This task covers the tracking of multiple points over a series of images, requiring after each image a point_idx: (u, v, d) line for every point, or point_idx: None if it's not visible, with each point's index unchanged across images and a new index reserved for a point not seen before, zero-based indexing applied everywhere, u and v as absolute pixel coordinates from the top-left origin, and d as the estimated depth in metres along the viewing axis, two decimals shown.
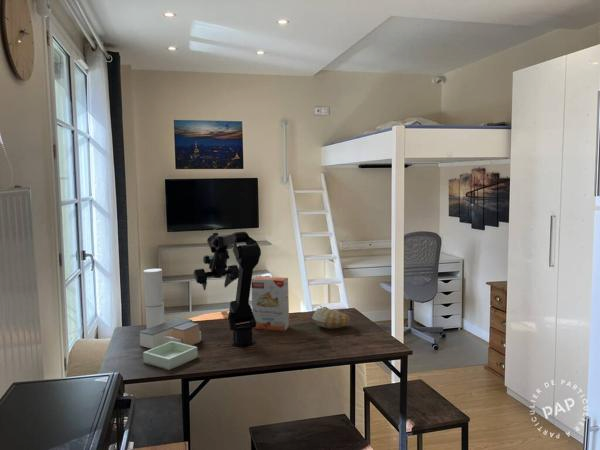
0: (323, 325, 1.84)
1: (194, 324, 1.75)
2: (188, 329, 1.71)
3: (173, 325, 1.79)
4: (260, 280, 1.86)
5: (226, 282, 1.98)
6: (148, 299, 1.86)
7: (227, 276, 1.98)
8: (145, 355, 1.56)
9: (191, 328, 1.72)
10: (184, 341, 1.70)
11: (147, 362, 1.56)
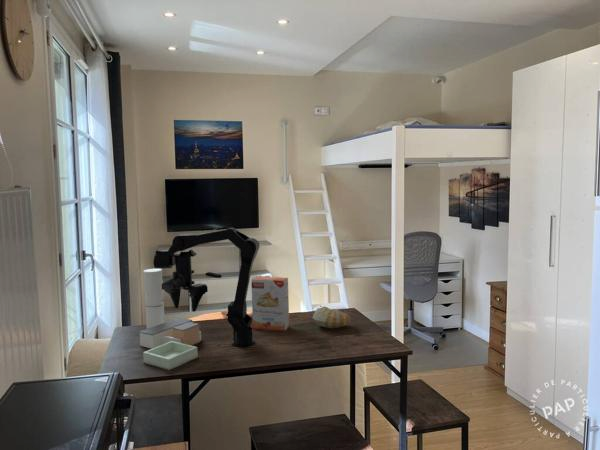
0: (324, 325, 1.85)
1: (194, 324, 1.75)
2: (188, 329, 1.71)
3: (173, 325, 1.79)
4: (260, 280, 1.86)
5: (177, 299, 1.76)
6: (148, 299, 1.86)
7: (174, 293, 1.75)
8: (145, 355, 1.56)
9: (191, 328, 1.72)
10: (184, 341, 1.70)
11: (147, 362, 1.56)
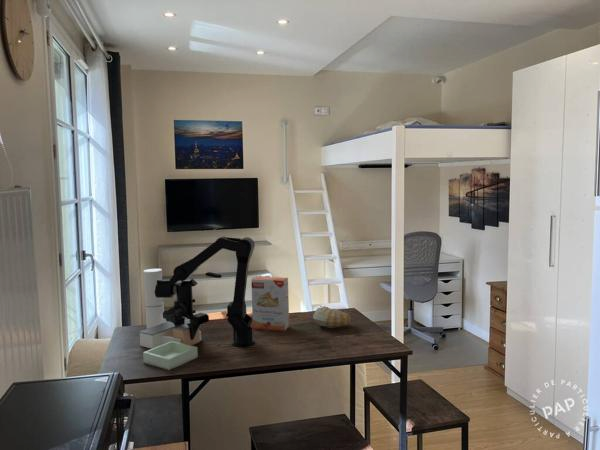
0: (324, 324, 1.85)
1: None
2: (188, 329, 1.71)
3: (173, 325, 1.79)
4: (260, 280, 1.86)
5: None
6: (148, 299, 1.86)
7: (178, 322, 1.75)
8: (145, 355, 1.56)
9: None
10: (184, 340, 1.70)
11: (147, 362, 1.56)
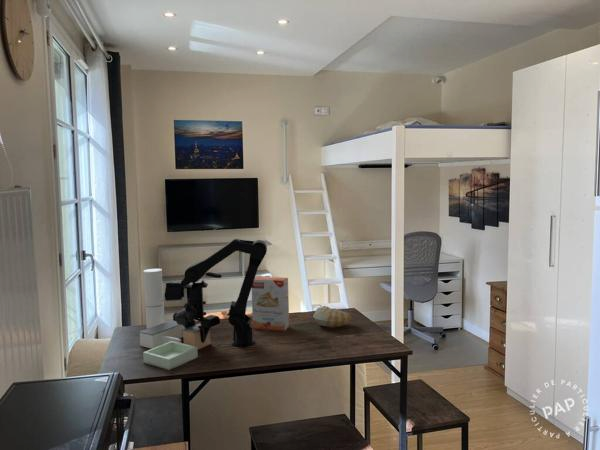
0: (325, 324, 1.86)
1: None
2: (199, 331, 1.68)
3: (173, 325, 1.79)
4: (260, 280, 1.86)
5: None
6: (148, 299, 1.86)
7: (189, 325, 1.72)
8: (145, 355, 1.56)
9: None
10: (195, 343, 1.67)
11: (147, 362, 1.56)
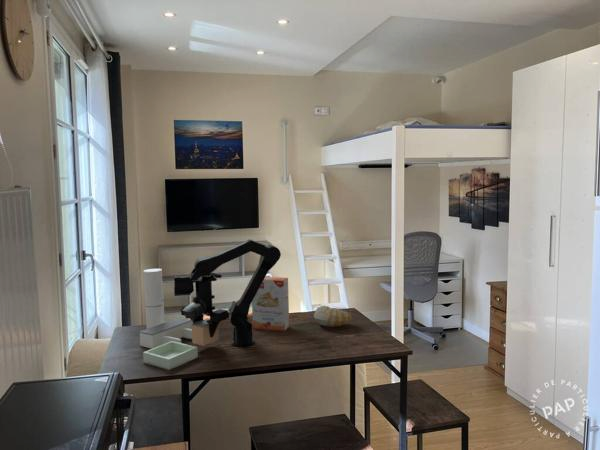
0: (326, 323, 1.86)
1: None
2: (208, 325, 1.65)
3: (173, 325, 1.79)
4: None
5: None
6: (148, 299, 1.86)
7: (197, 319, 1.69)
8: (145, 355, 1.56)
9: None
10: (204, 337, 1.64)
11: (147, 362, 1.56)
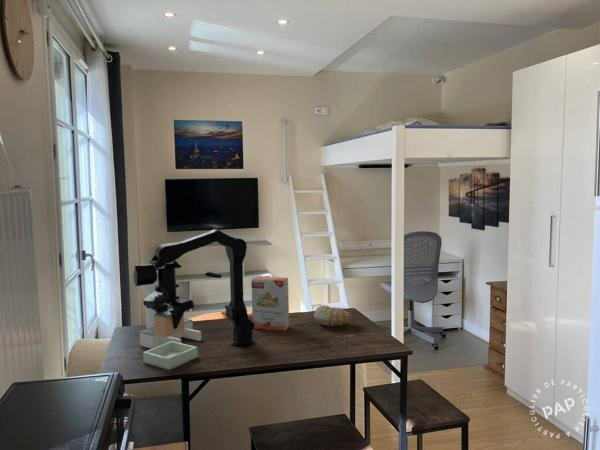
0: (327, 323, 1.87)
1: None
2: (171, 316, 1.55)
3: None
4: (260, 280, 1.86)
5: None
6: None
7: (161, 310, 1.59)
8: (145, 355, 1.56)
9: None
10: (167, 329, 1.53)
11: (147, 362, 1.56)
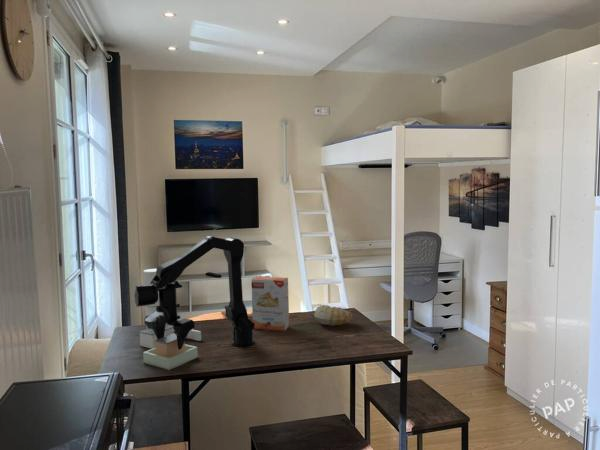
0: (327, 322, 1.87)
1: None
2: (172, 342, 1.55)
3: None
4: (260, 280, 1.86)
5: (161, 335, 1.61)
6: None
7: (158, 328, 1.60)
8: (145, 355, 1.56)
9: (175, 341, 1.57)
10: (168, 355, 1.54)
11: (147, 362, 1.56)
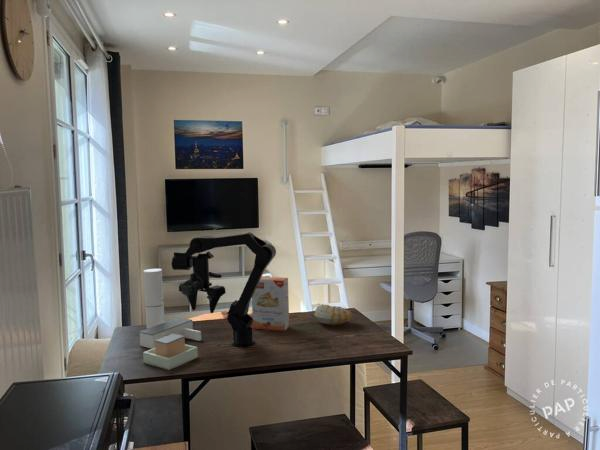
0: (328, 322, 1.88)
1: (179, 336, 1.59)
2: (172, 342, 1.55)
3: (173, 325, 1.79)
4: (260, 280, 1.86)
5: (194, 301, 1.76)
6: (148, 299, 1.86)
7: (191, 295, 1.75)
8: (145, 355, 1.56)
9: (175, 341, 1.57)
10: (168, 355, 1.54)
11: (147, 362, 1.56)
